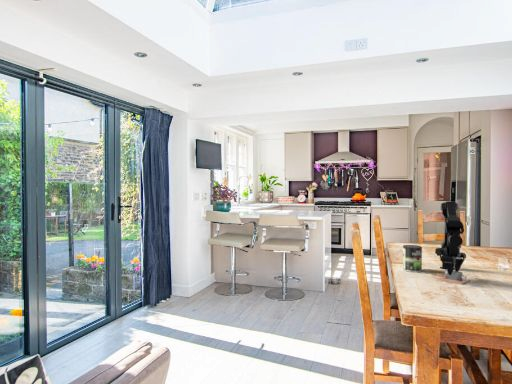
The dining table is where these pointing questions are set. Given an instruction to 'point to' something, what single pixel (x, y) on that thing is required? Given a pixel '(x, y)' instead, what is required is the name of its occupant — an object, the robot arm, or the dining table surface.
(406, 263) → the coffee can
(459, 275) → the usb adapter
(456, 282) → the plate
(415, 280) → the dining table surface
